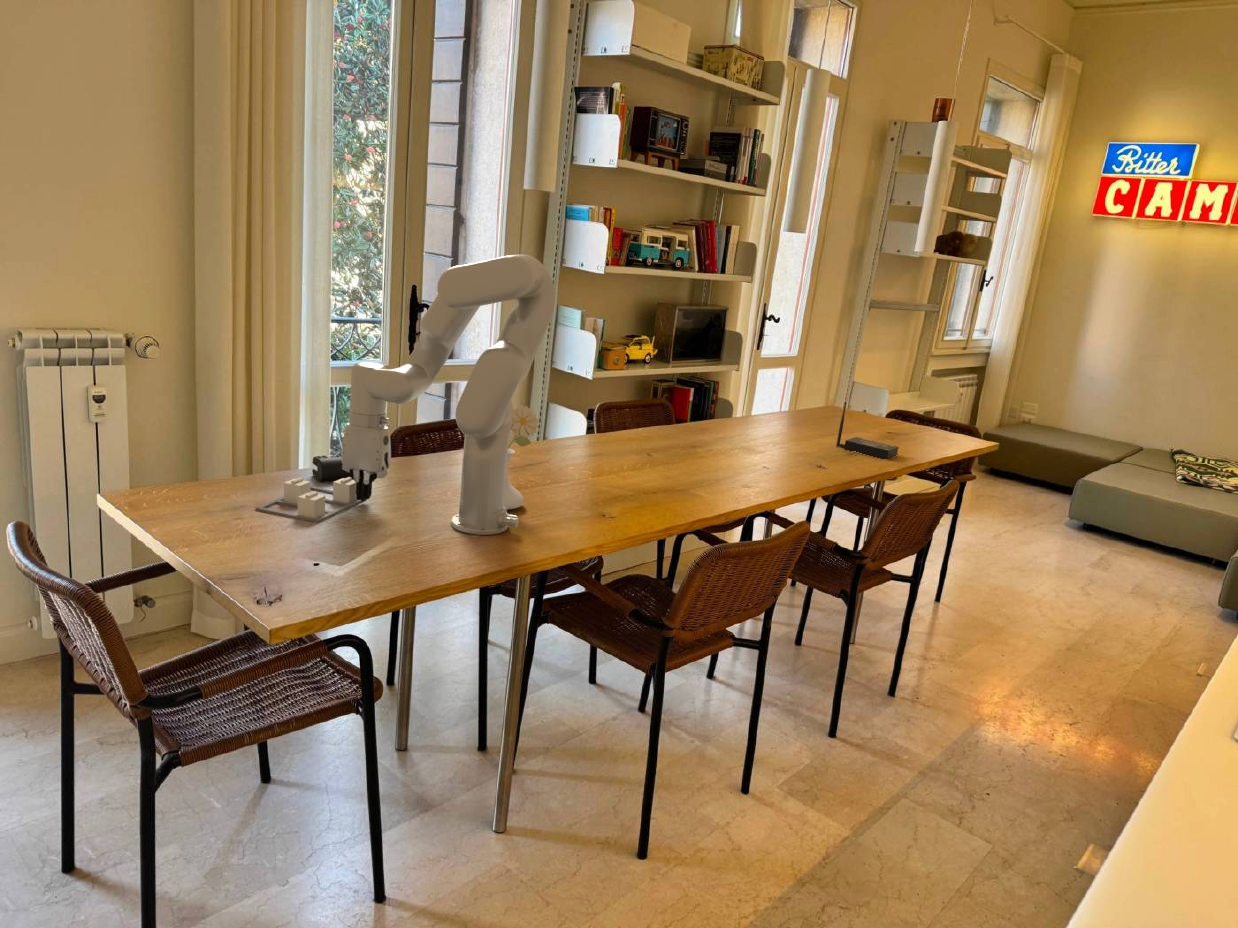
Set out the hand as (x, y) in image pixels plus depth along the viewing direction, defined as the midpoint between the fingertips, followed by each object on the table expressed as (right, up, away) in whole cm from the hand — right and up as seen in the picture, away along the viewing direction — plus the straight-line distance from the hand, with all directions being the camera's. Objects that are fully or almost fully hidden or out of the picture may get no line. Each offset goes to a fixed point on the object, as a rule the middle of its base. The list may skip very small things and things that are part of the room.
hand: (363, 498), depth 195 cm
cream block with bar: (-4, 0, +1) cm, 5 cm away
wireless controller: (+146, +12, +120) cm, 190 cm away
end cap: (-12, +3, +17) cm, 21 cm away
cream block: (-8, -3, -11) cm, 14 cm away
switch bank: (-12, -2, -3) cm, 13 cm away
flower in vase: (+30, -3, +14) cm, 33 cm away
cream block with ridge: (-14, 0, -3) cm, 14 cm away
